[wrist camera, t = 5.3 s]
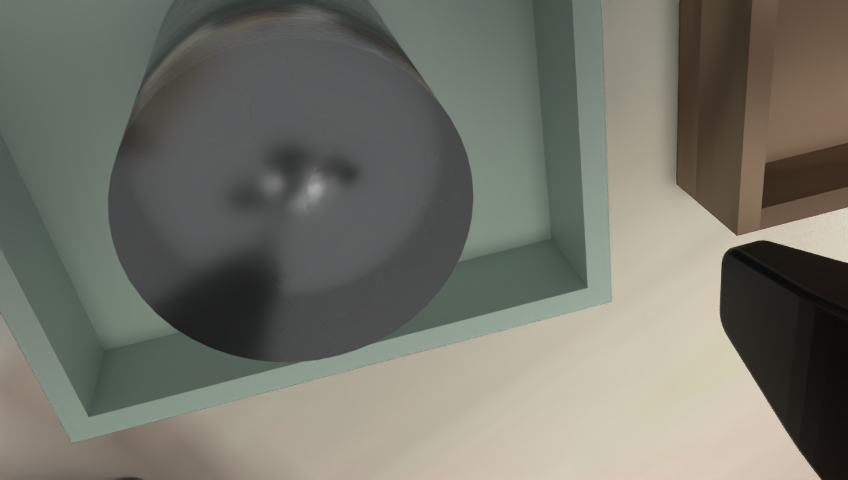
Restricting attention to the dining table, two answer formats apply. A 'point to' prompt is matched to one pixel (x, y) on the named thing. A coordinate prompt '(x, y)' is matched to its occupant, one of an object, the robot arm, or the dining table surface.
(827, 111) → the walnut pallet
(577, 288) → the sage tote
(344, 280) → the cylinder
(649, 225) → the dining table surface
